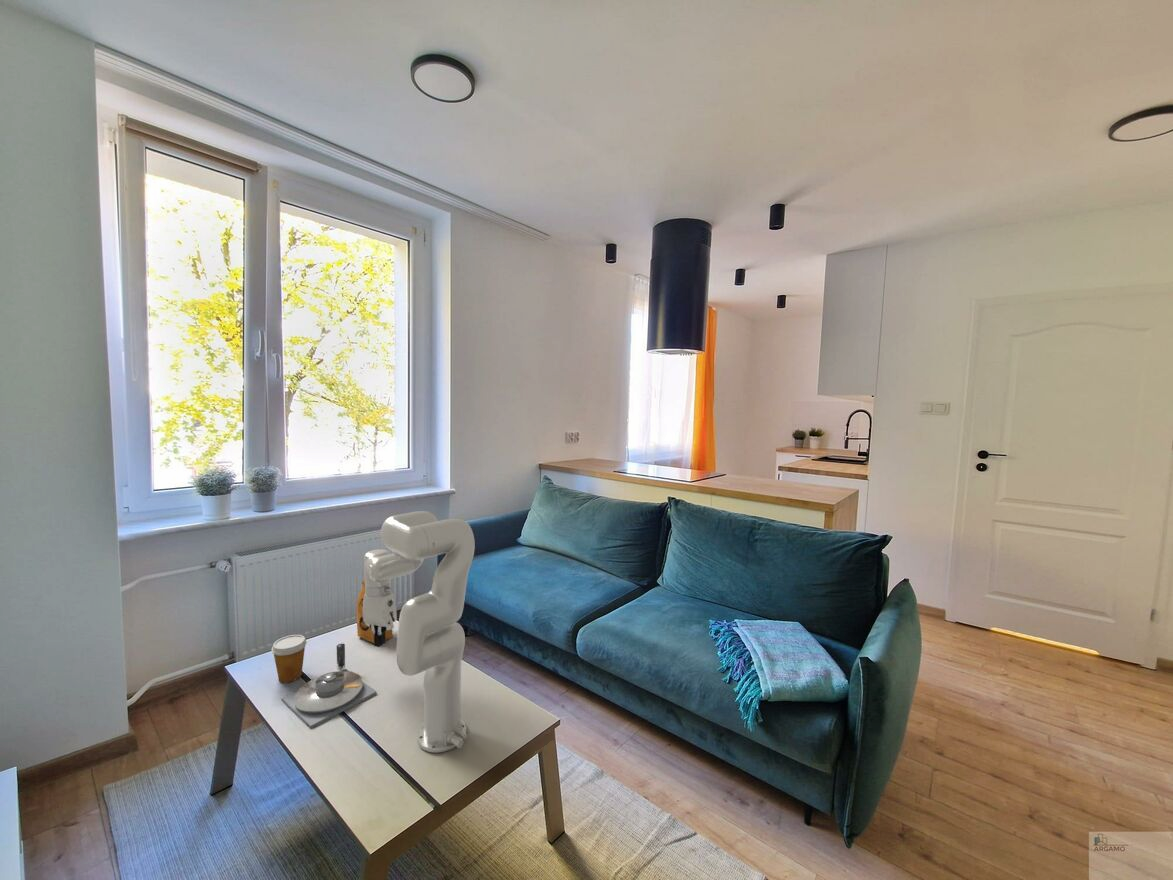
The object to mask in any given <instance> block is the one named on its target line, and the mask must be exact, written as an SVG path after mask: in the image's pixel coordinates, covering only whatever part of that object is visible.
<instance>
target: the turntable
mask: <svg viewBox="0 0 1173 880" xmlns="http://www.w3.org/2000/svg"><path fill="white" fill-rule="evenodd" d="M344 669H346V644H345V643H338V644H336V666H335V668H334V670H333V672H341V673H343V674H344V689H343V691H342V692H340V693H339V694H337V695H335V696H333V697H329V698H319V697H317V696H316V680H317V679H318V678H319V677H320V676H322V675H323V674H322V675H319V676H316V677H315V678H312V679H310V680H308V681H307V682H306V683H303V685H302V686H300V687H299V689H297V690H296V691H297V692H296V694H295V707H296V708H297V709H298V710H299V711H301V712H304V713H310V714H317V713H325V712H329V711H333V710H336V709H338V708H341V707H343V706H345V705H347V704H348V703H350V702H351V701H353V700H354V699H355V698H356V697H357V696H358V695H359V694H360V692H361V690H362V681H363V679H362V676H360V675H359V674H358V673H356V672H353V671H349V672H347V671H343V670H344Z"/></svg>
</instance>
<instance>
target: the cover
mask: <svg viewBox="0 0 1173 880" xmlns="http://www.w3.org/2000/svg"><path fill="white" fill-rule="evenodd" d="M319 676H320V677H319ZM319 676H318V677H319V678H318V679H317V680H316V696H317V697H319V698H329V697H333V696H335V695H337V694H339V693H340V692H342V691H343V689H344V674H343V673H341V672H334V671H332V672H331V671H330V672H327V673H324V674H322V676H321V675H319Z"/></svg>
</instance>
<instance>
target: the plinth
mask: <svg viewBox="0 0 1173 880" xmlns="http://www.w3.org/2000/svg"><path fill="white" fill-rule="evenodd" d="M343 671H347V672H350V671H349V670H348V669H347V668H344V670H343ZM297 691H298V690H296V691H294V692H291V693H289V694H287V695H284V696H282V697H281V698H280V699H281V701H282V702H283V704H284V705H286V707H288V709H290V710H291V712H293V713H294V714H295V715H296V716H297V717H298V718H299V719H300V720H301V721H302V722H303V723H304V724H305V725H307V727H308V728H310V729H313V728H314V727H316V726H318V725H320V724H322V723H324V722H326V721H327V720H330V719H332V718H334V717H335V716H337V715H339V714H340V713H343V712H346V710H349V709H350V708H352V707H354V706H357V705H358V704H360V703H362V702H364V701H365V700H368V699H370V698H371V697H373V696H375V695H377V690H375V688H372V687H371V686H369V684H367V683H365V682H364V681H363V680H362V690H361V692H360V694H359V695H358V696H357V697H356V698H355V699H354V700H353V701H351V702H350V703H348V704H347V705H345V706H343V707H341V708H338V709H336V710H333V711H329V712H325V713H317V714H310V713H304V712H301V711H299V710H298V709H297V708H296V707H295V694H296V692H297Z"/></svg>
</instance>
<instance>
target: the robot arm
mask: <svg viewBox="0 0 1173 880" xmlns="http://www.w3.org/2000/svg"><path fill="white" fill-rule="evenodd" d="M474 536H475V535H474V532H473V528H471V525H470V524H469V523H468V522H467V521H466V520H463V519H459V518H449V519H448V518H447V519H442V520H438V519H437V517H436V516H435V515H434V514H433V513H431V512H429V511H425V510H419V511H411V512H407V513H401V514H395V515H391V516H389V517H387V518H386V519H385V521H384V522H383V524H382V526H381V529H380V537H381V541H382V543H383V545H384V546H385V547H386V548H387V549H389V550H390V551H392V553H390V552H389V551H388V550H386V549H381V548H380V549H379V548H378V549H373V550H369V551H367V552H366V553H364V556H363V568H364V569H363V570H364V571H363V573H364V579H365V594H364V600H363V620H364V622H365V624H366V625H367V626H369V627H370V628H371V629H372V633H373V634H374V643H373V646H374V647H377V648H379V647H382V646H384V645H385V644H386V641H387V640H386V637H385V632H386V631H387V630H391V629H392V630H393V629H394V627H395V626H394V625H395V624H394V623H395V622H396V621H397V619H398V618H397V615H398V614H397V607H396V600H395V595H394V592H393V587H392V586H391V585H392V584H391V583H392V582H391V580H393V579H396V578H397V579H398V578H401V577H404V576H407V575H411V574H413V573H415V572H416V571H417V570H418V569H419V568H420V566H422V564H423V562H424V559H428V558H432V557H435V556H440V555H443V554H445V556H444V557H443V558H442V560H441V561H440V562H439V564H438V565H437V566H436V569H435V572H434V574H433V579H432V585H431V589H430V591H428V592H427V593H424V594H420V595H417V596H415V597H413V598H411V599H408V600H407V601H406V602H405V603H404V604H403V606H402V608H400V609H401V610H400V612H399V619H398V629H397V637H396V652H395V654H396V657H395V658H396V665H397V667H398V669H399V671H400V672H401V673H402V674H403V675H405V676H409V677H410V676H411V677H412V676H415V675H418V674H420V673H422V672H424V677H423V725H422V727H421V728H420V730H419V732H418V735H417V743H418V745H419V747H420V748H421V749H422V750H424V751H426V752H429V753H433V754H434V753H444V752H447V751H450V750H452V749H454V748H457V749H461V748H462V747H463V746H464V743H465V742H464V740H466V739H467V738H468V733H467V726H466V723H465V722H464V721H463V720H462V719H461V718H462V717H461V710H462V709H461V708H462V707H461V702H462V701H461V700H462V699H461V698H462V697H461V695H462V693H461V691H462V689H461V687H462V660H463V654H464V650H465V644H466V636H465V635H466V634H465V631H464V628H463V627H462V625H461V624H460V623H458V621H459V620H460V619H461V617H462V614H463V612H464V607H465V606H464V605H465V597H466V594H467V593H466V592H467V584H468V575H469V573H470V568H471V565H472V562H473V559H474V555H475V549H476V548H475V547H476V546H475V545H476V544H475V543H476V542H475V537H474ZM382 627H383V628H382Z"/></svg>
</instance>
